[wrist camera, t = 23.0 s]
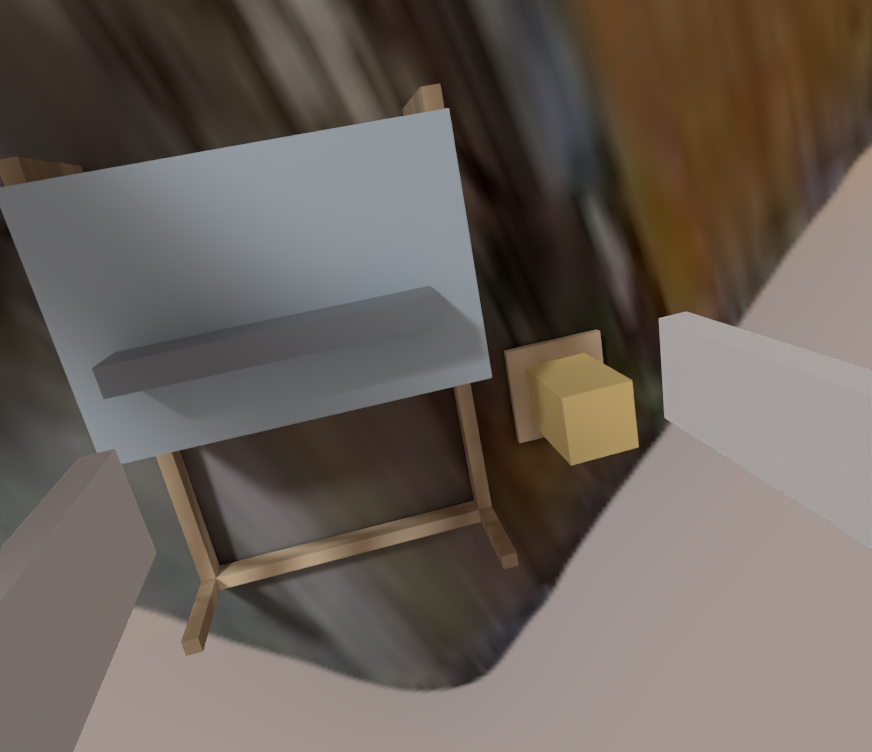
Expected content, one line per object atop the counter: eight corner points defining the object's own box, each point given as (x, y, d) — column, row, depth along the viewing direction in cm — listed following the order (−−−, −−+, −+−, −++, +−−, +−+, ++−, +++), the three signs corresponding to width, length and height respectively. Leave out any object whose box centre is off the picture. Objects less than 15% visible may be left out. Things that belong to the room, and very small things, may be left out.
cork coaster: (517, 440, 44) (519, 443, 44) (503, 350, 42) (505, 352, 41) (605, 418, 45) (609, 421, 44) (596, 329, 43) (600, 331, 42)
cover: (108, 461, 31) (80, 495, 28) (2, 189, 27) (-48, 186, 24) (488, 373, 34) (507, 394, 30) (445, 110, 30) (462, 97, 26)
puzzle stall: (209, 580, 43) (186, 655, 36) (63, 169, 34) (-6, 160, 27) (488, 508, 45) (518, 565, 38) (418, 106, 37) (440, 83, 29)
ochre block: (533, 425, 43) (571, 465, 37) (524, 367, 42) (561, 398, 35) (591, 410, 44) (638, 447, 37) (584, 352, 42) (632, 380, 36)
